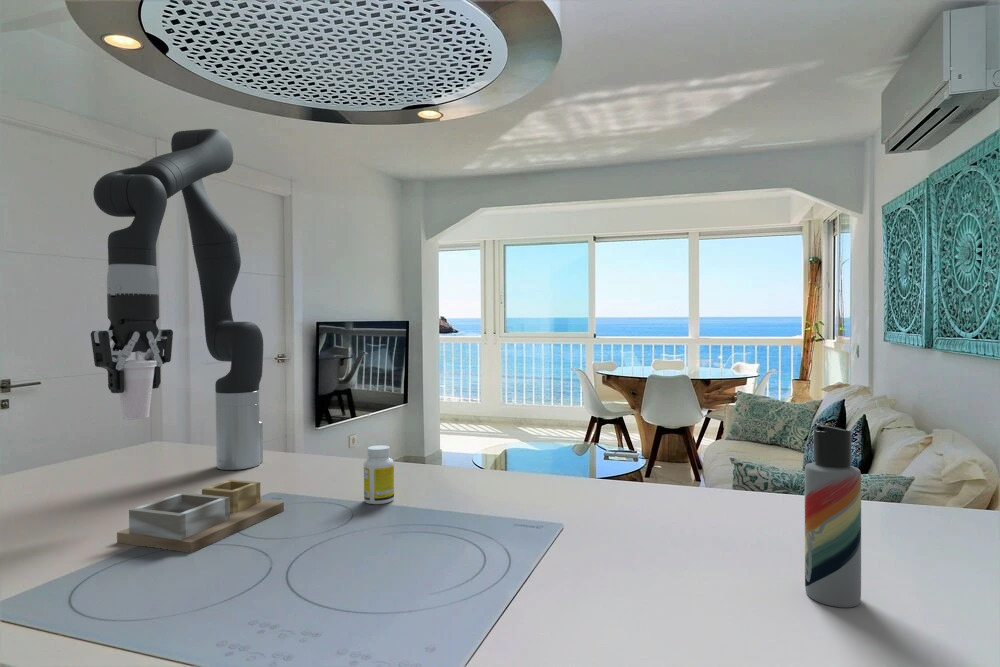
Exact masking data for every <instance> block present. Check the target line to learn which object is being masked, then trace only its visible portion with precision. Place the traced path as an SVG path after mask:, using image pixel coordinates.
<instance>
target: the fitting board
mask: <svg viewBox="0 0 1000 667" xmlns="http://www.w3.org/2000/svg"><path fill="white" fill-rule="evenodd" d="M282 512H285V502H284V501H277V500H276V501H275V500H268V499H267V500H266V499H262V498H261V482H260V481H249V480H240V479H239V480H238V479H229V480H225V481H222V482H219V483H217V484H213V485H210V486H207V487H205V488H201V494H200V493H191V492H179V493H177V494H174V495H171V496H167V497H165V498H164V497H163V498H161V499H158V500H156V501H152V502H149V503H146V504H143V505H139V506H137V507H133V508H131V509H129V510H128V528H126V529H123V530H120V531H118V532H116V543H118V544H125V545H132V546H140V547H146V546H147V548H153V547H155V549H160V548H162V550H167V549H168V550H167V551H174V550H175V552H176V551H177V552H183V553H188V554H189V553H190V554H191V553H194V552H196V550H197V551H199V550H201V549H203V548H205V547H207V546H210V545H213V544H214V543H216V542H219V541H220V539H221V540H222V538H223V539H224V537H225V538H227V537H229V536H232V535H234V534H236V533H238V532H240V531H243V530H245V529H247V528H249V527H251V526H253V525H257V523H260V522H263V521H264V520H266V519H268V518H270V517H273V516H276V515H278V514H279V513H282ZM242 529H243V530H242ZM235 532H236V533H235ZM233 533H234V534H233ZM231 534H232V535H231Z"/></svg>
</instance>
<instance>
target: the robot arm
mask: <svg viewBox="0 0 1000 667" xmlns="http://www.w3.org/2000/svg"><path fill="white" fill-rule="evenodd" d="M170 146H171V152H168V153H165V154H164V153H163V154H160V155H158V156H155V157H153V158H150V159H149V160H147V161H145V162H144V163H141V164H140V165H137V166H133V167H127V168H124V169H119V170H116V171H112V172H109V173H105V174H104V175H102V177H100V178H99V179H98V180H97V181H96V183H95V185H94V188H93V201H94V202H95V204H96V206H97V208H99V209H100V210H101V212H103V213H104V214H106V215H108V216H111V217H116V218H128V217H129V218H133V220H132V222H131V223H130V225H129V226H127V227H125V228H122V229H118V230H115V231H111V232H110V233H109V234H108V237H107V262H108V265H107V266H108V268H107V276H106V300H107V301H106V304H107V305H106V307H107V309H106V310H107V319H108V320H109V322H110V325H109V328H108V329H105V330H92V331H91V332H90V340H91V348H92V353H93V354H92V355H93V361H94V366H95V367H96V368H102V369H105V370H106V371H107V383H108V384H107V387H108V389H109V391H110V393H111V394H119V393H123V392H124V371H121V369H122V368H123V366H124V363H125V361H127V359H128V358H130V357H131V355H132V353H135V352H137V351H139V357H140V356H141V358H143V359H142V360H155V361H156V365H157V366H156V367H155V369H154V377H153V386H152V390H153V389H154V390H156V389H158V388H160V386H161V382H162V380H161V375H162V374H161V371H162V370H161V369H162V368H161V367H162V366H163V365H165V364H166V363H170V362H171V360H172V349H173V339H174V338H173V336H174V331H173V330H172V329H169V328H167V329H165V328H164V329H160V328H159V327H158V326H157V325H158V324H157V321H158V320H159V319H160V289H159V288H160V287H159V284H160V283H159V282H160V281H159V276H158V267H157V242H158V238H159V234H160V230H161V226H162V222H163V220H164V216H165V213H166V209H167V205H168V204H167V203H168V199H170V198H172V197H173V196H174V195H176V194H177V193H178V192H180V191H181V193H182V197H183V200H184V205H185V208H186V209H185V210H186V214H187V219H188V225H189V231H190V238H191V244H192V251H193V255H194V261H195V264H196V269H197V273H198V274H197V275H198V281H199V287H200V293H201V299H202V300H201V301H202V309H203V321H204V336H205V337H204V338H205V343H206V347H207V350H208V352H209V354H210V356H212V358H213V359H214V360H217V361H219V362H229V363H230V368H229V369H230V370H229V371H228V373H227V374H226V375H224V376H222V377H219V378H218V379H216V381H215V384H214V385H215V390H214V391H215V448H216V449H215V450H216V451H215V452H216V453H215V455H216V458H215V460H216V468H217V469H219V470H224V471H235V470H236V471H237V470H244V469H250V468H255V467H257V466H259V465H260V464H261V463H263V461H264V447H263V446H264V445H263V442H264V441H263V440H264V439H263V438H264V437H263V422H262V421H260V383H261V380H262V377H263V367H264V364H263V362H264V337H263V333H262V330H261V329H260V327H259V326H258V325H257V324H256V323H254V322H252V321H234V318H233V317H234V316H233V312H232V294H233V291H234V290H233V289H234V287H235V285H236V281H237V280H238V277H239V273H240V270H241V264H242V260H241V253H240V248H239V241H238V235H237V232H235V229H234V228H233V226H232V225H231V224H230V222H229V221H228V220H227V219H226V218H225V216H223V214H222V213H221V212H220V210H218V208H217V207H216V205H214V204H213V202H212V201H211V199H210V198H209V195H208V194H207V191H206V188H205V186H204V182H203V180H202V179H204V178H206V177H209V176H211V175H214V174H220V173H223V172H226V171H228V170H229V169H231V167H232V166H233V161H234V150H233V146H232V143H231V141H230V139H229V137H228V136H227V135H226V134H225V133H224V132H223V131H222V130H220V129H216V128H201V129H189V130H188V129H187V130H179V131H176V132H174V133H173V135H172V136H171V142H170ZM111 342H112V344H111Z"/></svg>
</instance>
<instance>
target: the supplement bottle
mask: <svg viewBox="0 0 1000 667" xmlns="http://www.w3.org/2000/svg"><path fill="white" fill-rule="evenodd" d="M390 448H391V447H390V446H389V445H385V444H384V445H371V446H369V447H367V456H368V458H367V459H366V460H365V461H364V463H363V498H364V499H363V500H364V502H365V503H366V504H369V505H385V504H387V503H388V504H389V503H391V502H392V501H394V499H395V464H394V460H393V458H390V457H389V456H390V455H391V453H390V452H391V449H390Z"/></svg>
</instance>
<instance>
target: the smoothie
mask: <svg viewBox="0 0 1000 667" xmlns="http://www.w3.org/2000/svg"><path fill="white" fill-rule="evenodd" d="M134 354H135V356H134V358H135V359H131V360H130V359H129V360H126V361H125V363H124V366H123V368H122V369H121V371H124V392H123V393H118V394H119V400H120V405H121V411H122V412H121V413H122V417H123V420H141V419H146V418H149V417H150V412H151V411H150V410H151V401H152V393H153V392H152V391H153V389H152V386H153V377H154V369H155V367H156V366H157V365H156V361H155V360H144V359H140V355H139V351H137V352H134Z"/></svg>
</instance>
